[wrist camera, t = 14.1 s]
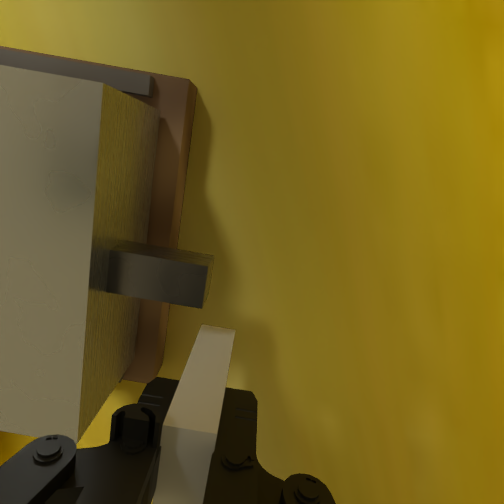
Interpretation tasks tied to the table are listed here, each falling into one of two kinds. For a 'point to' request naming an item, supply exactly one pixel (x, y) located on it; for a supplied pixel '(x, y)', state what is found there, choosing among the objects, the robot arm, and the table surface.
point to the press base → (165, 172)
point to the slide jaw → (76, 247)
